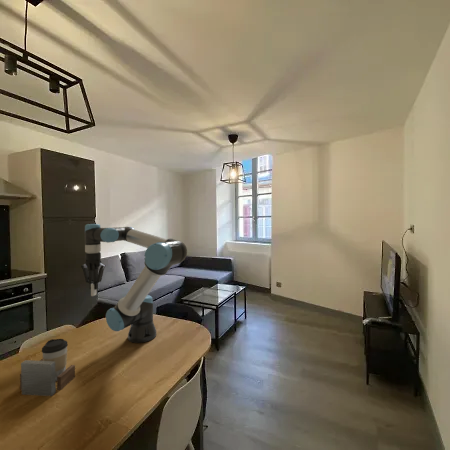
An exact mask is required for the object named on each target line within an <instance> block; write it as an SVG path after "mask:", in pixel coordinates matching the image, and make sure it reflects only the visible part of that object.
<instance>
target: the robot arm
mask: <svg viewBox="0 0 450 450" xmlns="http://www.w3.org/2000/svg"><path fill="white" fill-rule="evenodd" d="M118 241H119V242H120V241H122V242H123V241H124V242H128V243H131V244H134V245H136V246H140V247H143V248H146V249H145V251H144V262H143V263H144V268H143V269H142V271H141V272H140V273H139V275H138V276H137V278H136V280H134V283H133V284H132V285H131V286H130V289H129V290H128V292H127V293H126V294H125V296H124V297H121V298H120V299H119V300H118V301H117V303H116V305H115V306H114V307H110V308H109V309H108V310H107V311H106V313H105V321H106V324H107V326H108V327H109V328H110V329H111V331H113V332H120V331H123V330H125V329H126V328H128V327H129V331H128V333H127V339H128V341H129V342H131V343H133V344H134V343H135V344H141V343H142V344H143V343H146V342H149V341H152V340H153V339H155V338H156V337H157V329H156V326H155V323H154V301H153V299H154V298H153V296H151V295H149V294H150V293H151V291H152V289H153V288H154V286H155V285H156V283H157V282H158V280H159V279H160V277H161V276H165V275H166V274H167V273H168V272H169V270H170V268H171V267H172V266H175V265H177V264H181V263H182V262H183V261H185V260H186V257H187V255H188V248H187V246H186V245H185V243H184V242H183V241H181V240H178V239H173V238H163V237H160V236H158V235H153V234H150V233H147V232H144V231H139V230H136V229H135V228H134V227H131V226H123V227H122V226H120V227H117V226H116V227H101V224H99V223H90V224H89V223H87V224H85V225H84V252H85V253H84V256H85V258H84V259H85V262H84V264H82V265H80V268H81V269H82V271H83V277H84V280H85V283H88V284H89V290H90V296H91V297H94V296H96V295H97V291H98V289H99V283H101V282H102V279H103V274H104V270H105V268H106V264H103V263H102V261H101V259H102V253H101V249H102V248H101V246H102V244H101V243H107V244H108V243H114V242H118Z"/></svg>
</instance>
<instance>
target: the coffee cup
mask: <svg viewBox="0 0 450 450" xmlns="http://www.w3.org/2000/svg"><path fill="white" fill-rule="evenodd" d="M68 345H69V344H68V341H67V340H66V339H63V338H56V339H50V340H48V341H47V342H46V343H45V344H44V345H43V346H42V348H41V353H42V359H43V361H55V381H56V382H57V377H58V376H59V375H60V374H61V373H63V372H64V371H65V370H66V369H67V363H68V362H67V360H68Z"/></svg>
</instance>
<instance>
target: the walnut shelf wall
mask: <svg viewBox="0 0 450 450" xmlns="http://www.w3.org/2000/svg"><path fill="white" fill-rule="evenodd" d="M39 361H43V358H42V359H40V360H39ZM74 378H76V365H75V364H70V366H69V367H66V370H65V371H64V372H63V373H61V374H60V375H59V376H58V377H57V381H56V382H57V383H56V384H57V388H56V389H57V391H62V390H63V389H64V388H65V387H66V386H67V385H68V384H69V383H70V382H71V381H73V379H74ZM19 388H20V390H21V391H22V382H21V373H20V374H19Z"/></svg>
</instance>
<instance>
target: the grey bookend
mask: <svg viewBox="0 0 450 450" xmlns="http://www.w3.org/2000/svg"><path fill="white" fill-rule="evenodd" d="M20 374H21V382H22V390H21V395H25V396H26V395H27V396H39V397H40V396H42V397H53V396H54V395H55V393H56V392H57V391H56V389H57V388H56V384H57V383H56V382H57V381H55V361H40V360H31V359H30V360H29V359H28V360H27V359H26V360H24V361H22V362H20Z"/></svg>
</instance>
